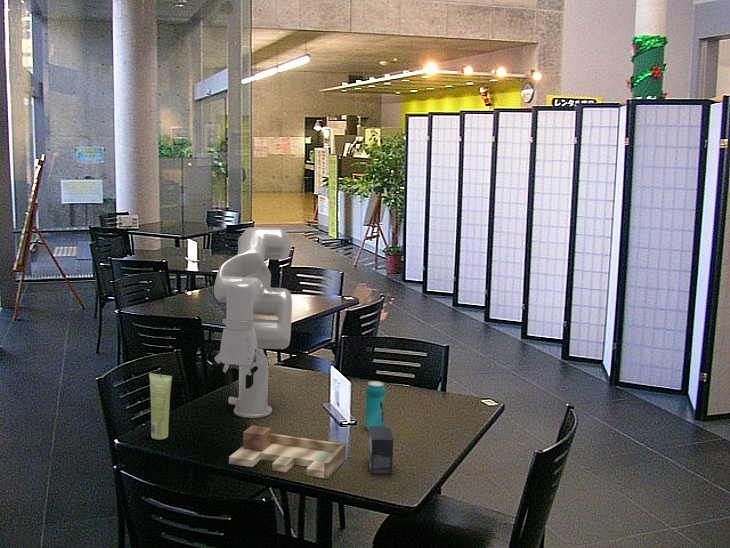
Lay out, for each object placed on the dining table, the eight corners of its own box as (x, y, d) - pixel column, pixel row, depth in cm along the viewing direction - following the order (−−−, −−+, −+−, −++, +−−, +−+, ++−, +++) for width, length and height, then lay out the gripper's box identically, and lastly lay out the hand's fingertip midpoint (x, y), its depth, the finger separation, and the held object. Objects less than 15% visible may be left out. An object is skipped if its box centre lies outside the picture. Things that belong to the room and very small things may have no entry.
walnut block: (243, 448, 233) (243, 432, 232) (251, 441, 239) (252, 425, 238) (262, 451, 231) (262, 434, 231) (270, 444, 237) (271, 428, 236)
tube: (168, 433, 249) (168, 371, 246) (171, 438, 244) (172, 375, 241) (149, 435, 246) (149, 373, 243) (152, 441, 242) (152, 377, 239)
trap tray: (227, 463, 227) (227, 447, 226) (249, 444, 242) (249, 430, 241) (328, 479, 219) (328, 463, 218) (345, 459, 233) (345, 444, 233)
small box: (366, 460, 233) (367, 425, 232) (388, 460, 234) (390, 425, 232) (369, 475, 223) (371, 438, 221) (393, 475, 223) (394, 438, 222)
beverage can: (381, 432, 256) (383, 386, 254) (363, 430, 257) (365, 385, 255) (384, 426, 262) (386, 381, 260) (367, 424, 263) (368, 380, 261)
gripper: (206, 324, 230) (205, 386, 233) (262, 330, 225) (261, 393, 228) (218, 319, 237) (217, 379, 240) (272, 325, 232) (271, 386, 235)
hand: (238, 385), depth 234 cm, fingers open, 5 cm apart
